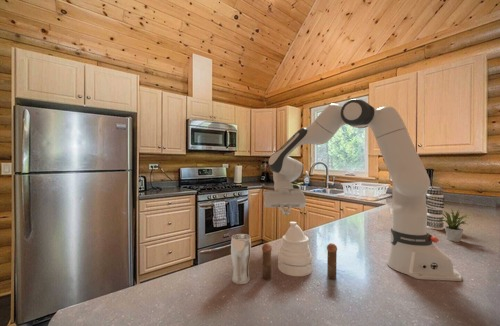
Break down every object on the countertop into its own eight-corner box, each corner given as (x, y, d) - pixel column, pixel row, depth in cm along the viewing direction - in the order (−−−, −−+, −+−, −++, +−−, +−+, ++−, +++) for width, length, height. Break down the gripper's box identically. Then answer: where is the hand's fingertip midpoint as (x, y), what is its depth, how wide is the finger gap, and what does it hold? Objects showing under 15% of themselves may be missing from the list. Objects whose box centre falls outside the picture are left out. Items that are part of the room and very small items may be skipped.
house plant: (476, 248, 111) (476, 213, 111) (438, 242, 119) (438, 209, 119) (471, 240, 122) (472, 208, 122) (437, 234, 131) (438, 205, 131)
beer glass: (248, 286, 77) (248, 240, 77) (228, 284, 79) (228, 239, 79) (252, 276, 84) (252, 234, 84) (233, 274, 86) (233, 233, 85)
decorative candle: (425, 228, 143) (426, 187, 143) (424, 224, 151) (425, 185, 151) (444, 230, 138) (445, 188, 138) (443, 227, 146) (443, 186, 145)
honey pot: (305, 279, 82) (305, 228, 82) (272, 270, 89) (272, 222, 88) (316, 265, 93) (316, 219, 92) (286, 258, 100) (286, 215, 99)
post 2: (336, 275, 85) (336, 242, 84) (337, 280, 81) (337, 245, 81) (326, 274, 85) (326, 241, 85) (326, 279, 82) (327, 244, 82)
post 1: (272, 276, 84) (272, 242, 84) (270, 280, 81) (270, 246, 81) (263, 274, 85) (263, 241, 85) (260, 279, 82) (260, 245, 82)
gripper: (263, 186, 117) (264, 210, 108) (304, 186, 118) (309, 210, 108) (262, 193, 122) (263, 217, 112) (302, 193, 122) (306, 217, 113)
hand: (286, 213), depth 110 cm, fingers closed
